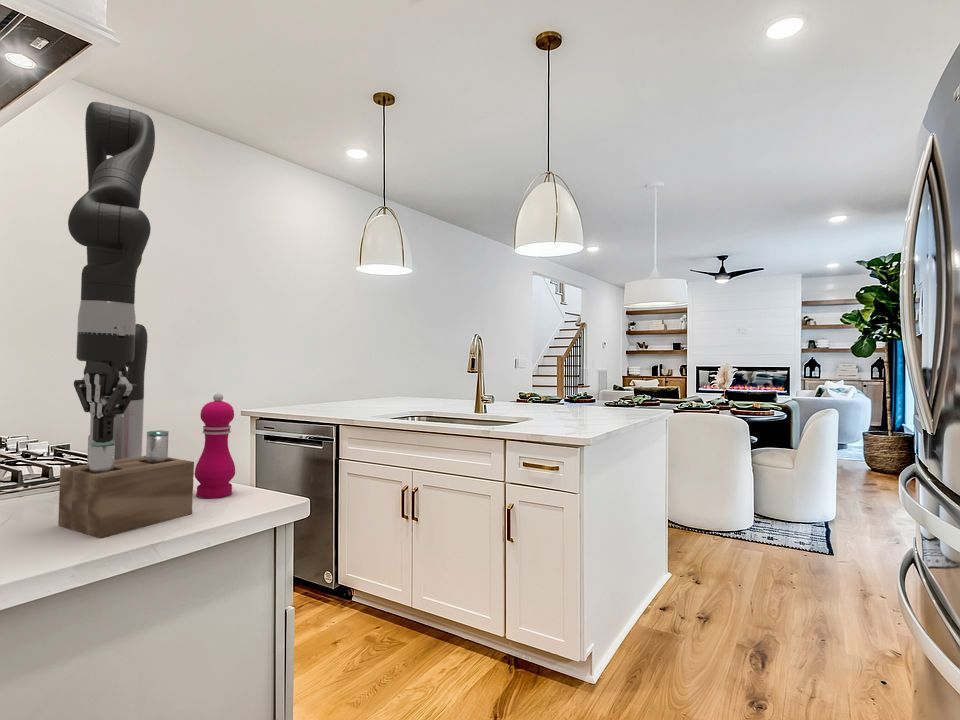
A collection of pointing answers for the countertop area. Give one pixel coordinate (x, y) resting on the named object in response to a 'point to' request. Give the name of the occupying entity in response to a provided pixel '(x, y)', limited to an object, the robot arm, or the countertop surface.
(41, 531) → the countertop surface
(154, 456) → the rear peg
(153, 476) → the walnut block
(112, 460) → the front peg
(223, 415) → the pepper mill
